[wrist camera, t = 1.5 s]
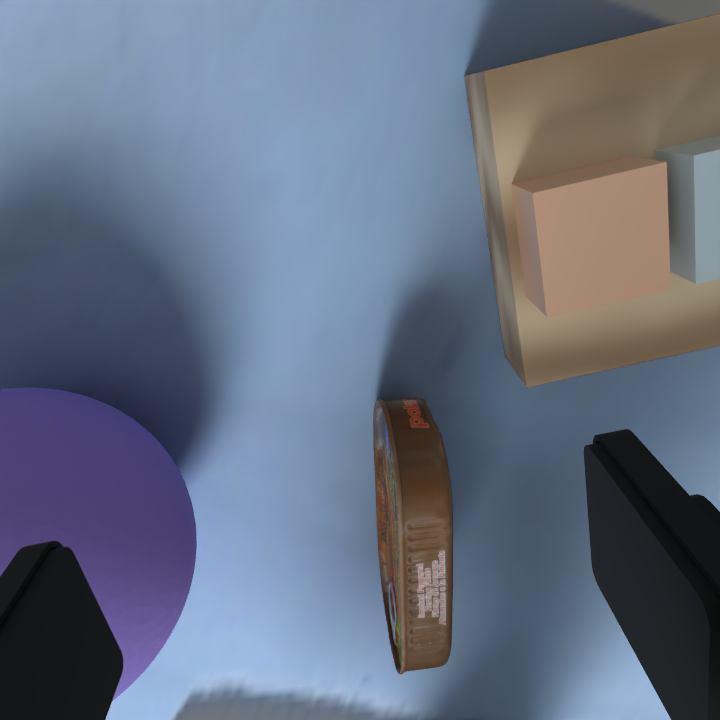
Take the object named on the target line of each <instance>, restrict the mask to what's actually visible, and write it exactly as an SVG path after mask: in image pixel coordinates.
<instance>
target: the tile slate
mask: <svg viewBox="0 0 720 720" xmlns="http://www.w3.org/2000/svg"><path fill="white" fill-rule="evenodd" d="M655 160H658V161H664V162H667V189H668V219H669V249H670V272H672V273H674V274H676V275H678V276H680V277H682V278H684V279H686V280H688V281H690V282H692V283H695V284H699V283H703V282H708V281H712V280H717V279H720V135H719V136H714V137H710V138H706V139H702V140H697V141H693V142H689V143H685V144H680V145H676V146H672V147H667V148H663V149H659V150H655Z"/></svg>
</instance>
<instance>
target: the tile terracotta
mask: <svg viewBox="0 0 720 720" xmlns="http://www.w3.org/2000/svg"><path fill="white" fill-rule="evenodd" d="M511 185H512V193H513V201H514V209H515V217H516V225H517V233H518V241H519V248H520V256H521V264H522V272H523V280H524V288H525V296H526V297H527V298H528V299H529V300H530V301H531V302H532V303H533V304H534V305H535V306H536V307H537V308H538V309H539V310H540V311H541V312H542V313H543V314H544V315H545V316H546V317H551V316H555V315H560V314H564V313H569V312H573V311H578V310H582V309H587V308H591V307H596V306H600V305H605V304H609V303H614V302H618V301H623V300H627V299H632V298H636V297H641V296H645V295H650V294H654V293H659V292H663V291H668V290H671V280H670V249H669V219H668V189H667V162H664V161H658V160H652V159H645V158H639V157H633V156H629V157H625V158H620V159H616V160H612V161H608V162H603V163H599V164H595V165H591V166H586V167H582V168H578V169H574V170H569V171H565V172H561V173H556V174H552V175H548V176H544V177H539V178H535V179H531V180H527V181H522V182H518V183H514V184H511Z"/></svg>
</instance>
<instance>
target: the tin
mask: <svg viewBox="0 0 720 720" xmlns="http://www.w3.org/2000/svg"><path fill="white" fill-rule="evenodd" d="M373 428H374V460H375V482H376V508H377V533H378V552H379V564H380V575H381V584H382V592H383V601H384V606H385V614H386V620H387V625H388V632H389V639H390V644H391V650H392V654H393V659H394V663H395V667H396V670H397V672H398V673H399V674H403V673H404V672H406V671H413V670H420V669H428V668H435V667H439V666H442V665H444V664H445V663H446V662H447V661H448V659H449V656H450V650H451V640H452V599H453V511H452V495H451V484H450V476H449V469H448V463H447V457H446V453H445V448H444V444H443V440H442V436H441V433H440V431H439V429H438V427H437V425H436V424H435V422H434V420H433V418H432V415H431V413H430V411H429V409H428V407H427V405H426V402H425V400H424V399H417V398H415V399H399V400H388V401H383V400H382V399H378V400H377V401H376V404H375V407H374V418H373Z"/></svg>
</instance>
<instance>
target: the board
mask: <svg viewBox="0 0 720 720" xmlns="http://www.w3.org/2000/svg"><path fill="white" fill-rule="evenodd" d="M464 78H465V85H466V92H467V99H468V105H469V112H470V119H471V126H472V133H473V140H474V147H475V153H476V160H477V167H478V174H479V181H480V188H481V195H482V202H483V208H484V215H485V222H486V229H487V236H488V243H489V250H490V256H491V263H492V270H493V277H494V284H495V291H496V298H497V304H498V311H499V318H500V325H501V332H502V339H503V346H504V353H505V357H506V359H507V360H508V361H509V363H510V364H511V366H512V367H513V369H514V370H515V372H516V373H517V375H518V376H519V378H520V379H521V380H522V382H523V383H524V385H525V386H526V388H527V387H532V386H536V385H541V384H546V383H550V382H555V381H559V380H564V379H569V378H573V377H578V376H582V375H587V374H592V373H596V372H601V371H605V370H610V369H615V368H619V367H624V366H628V365H633V364H638V363H642V362H647V361H651V360H656V359H661V358H665V357H670V356H674V355H679V354H684V353H688V352H693V351H697V350H702V349H707V348H711V347H716V346H720V279H717V280H712V281H708V282H703V283H699V284H695V283H692V282H690V281H688V280H686V279H684V278H682V277H680V276H678V275H676V274H674V273H672V272H670V280H671V290H668V291H663V292H659V293H654V294H650V295H645V296H641V297H636V298H632V299H627V300H623V301H618V302H614V303H609V304H605V305H600V306H596V307H591V308H587V309H582V310H578V311H573V312H569V313H564V314H560V315H555V316H551V317H546V316H545V315H544V314H543V313H542V312H541V311H540V310H539V309H538V308H537V307H536V306H535V305H534V304H533V303H532V302H531V301H530V300H529V299H528V298H527V297H526V296H525V288H524V280H523V272H522V264H521V256H520V248H519V241H518V233H517V225H516V217H515V209H514V201H513V193H512V185H511V184H514V183H518V182H522V181H527V180H531V179H535V178H539V177H544V176H548V175H552V174H556V173H561V172H565V171H569V170H574V169H578V168H582V167H586V166H591V165H595V164H599V163H603V162H608V161H612V160H616V159H620V158H625V157H629V156H633V157H639V158H645V159H652V160H655V150H659V149H663V148H667V147H672V146H676V145H680V144H685V143H689V142H693V141H697V140H702V139H706V138H710V137H714V136H719V135H720V14H716V15H712V16H708V17H704V18H700V19H695V20H691V21H687V22H683V23H679V24H675V25H671V26H667V27H662V28H658V29H654V30H650V31H646V32H642V33H638V34H634V35H630V36H626V37H621V38H617V39H613V40H609V41H605V42H601V43H597V44H593V45H589V46H585V47H580V48H576V49H572V50H568V51H564V52H560V53H556V54H552V55H548V56H544V57H539V58H535V59H531V60H527V61H523V62H519V63H515V64H511V65H507V66H503V67H498V68H494V69H490V70H486V71H482V72H478V73H474V74H470V75H466V76H464Z"/></svg>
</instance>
